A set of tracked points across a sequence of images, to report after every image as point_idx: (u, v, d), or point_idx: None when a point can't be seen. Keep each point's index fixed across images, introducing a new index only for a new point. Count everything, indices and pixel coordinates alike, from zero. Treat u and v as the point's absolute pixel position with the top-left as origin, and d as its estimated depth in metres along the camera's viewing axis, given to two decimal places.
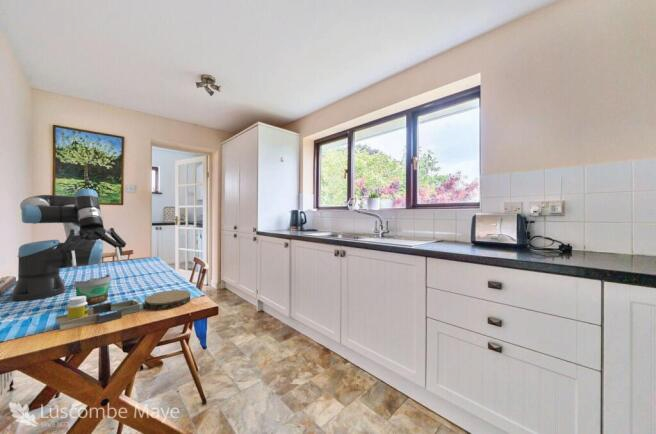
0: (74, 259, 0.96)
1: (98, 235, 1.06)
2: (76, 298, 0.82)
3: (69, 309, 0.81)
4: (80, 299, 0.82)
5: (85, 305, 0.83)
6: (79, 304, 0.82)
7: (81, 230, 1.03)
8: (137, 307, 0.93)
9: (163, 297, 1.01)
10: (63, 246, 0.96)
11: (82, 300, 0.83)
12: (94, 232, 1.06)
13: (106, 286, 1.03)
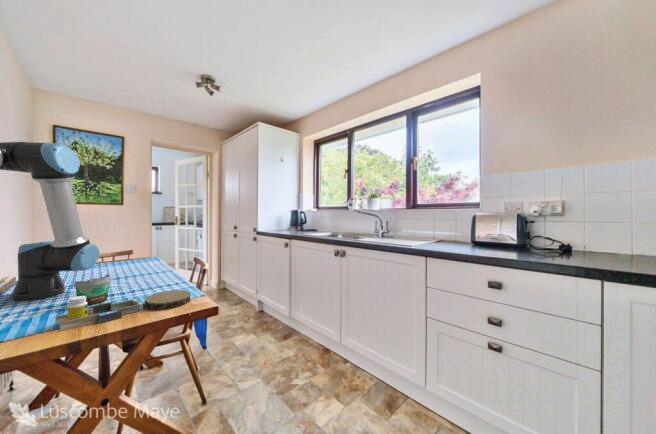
0: None
1: None
2: (76, 298, 0.82)
3: (69, 309, 0.81)
4: (80, 299, 0.82)
5: (85, 305, 0.83)
6: (79, 304, 0.82)
7: None
8: (137, 307, 0.93)
9: (163, 297, 1.01)
10: None
11: (82, 300, 0.83)
12: None
13: (106, 286, 1.03)
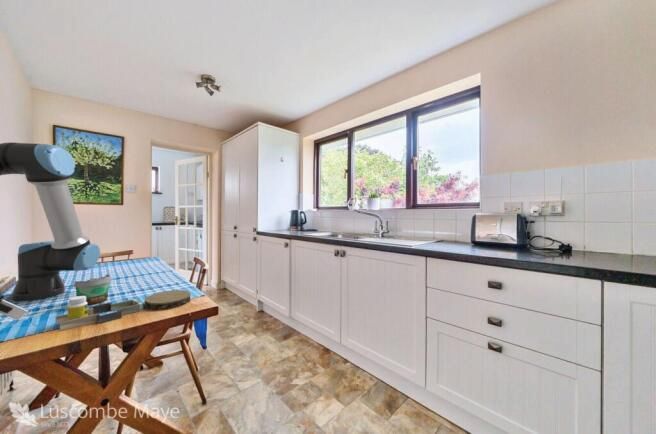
0: None
1: None
2: (76, 298, 0.82)
3: (69, 309, 0.81)
4: (80, 299, 0.82)
5: (85, 305, 0.83)
6: (79, 304, 0.82)
7: None
8: (137, 307, 0.93)
9: (163, 297, 1.01)
10: None
11: (82, 300, 0.83)
12: None
13: (106, 286, 1.03)
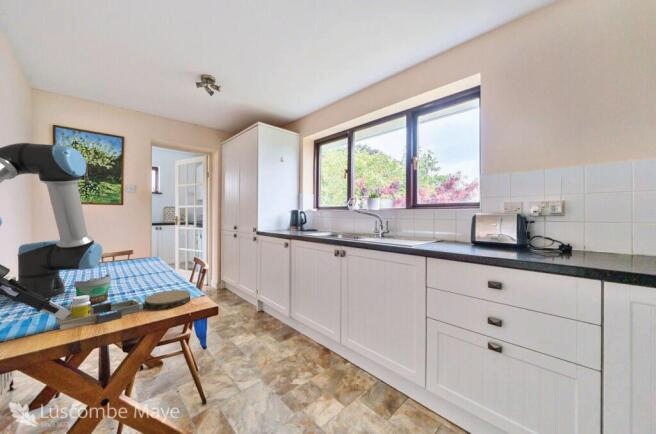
0: None
1: None
2: (80, 297, 0.83)
3: (73, 308, 0.81)
4: (84, 298, 0.83)
5: (89, 304, 0.84)
6: (83, 303, 0.83)
7: None
8: (137, 307, 0.93)
9: (163, 297, 1.01)
10: None
11: (86, 299, 0.83)
12: None
13: (106, 286, 1.03)
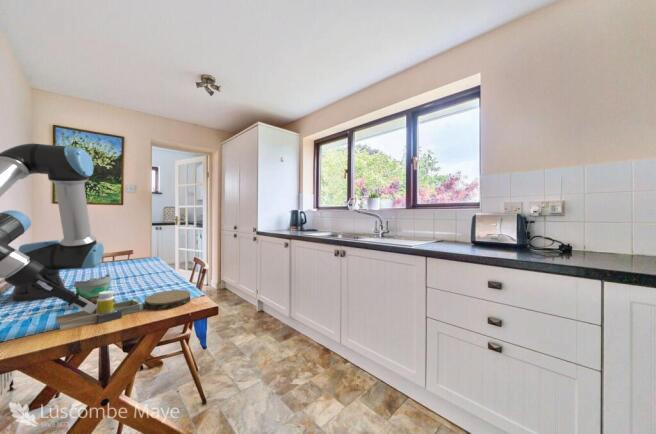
0: (82, 309, 0.84)
1: None
2: (105, 292, 0.88)
3: (100, 302, 0.86)
4: (109, 293, 0.88)
5: (113, 299, 0.89)
6: (109, 298, 0.88)
7: None
8: (137, 307, 0.93)
9: (163, 297, 1.01)
10: None
11: (111, 294, 0.89)
12: None
13: (106, 286, 1.03)
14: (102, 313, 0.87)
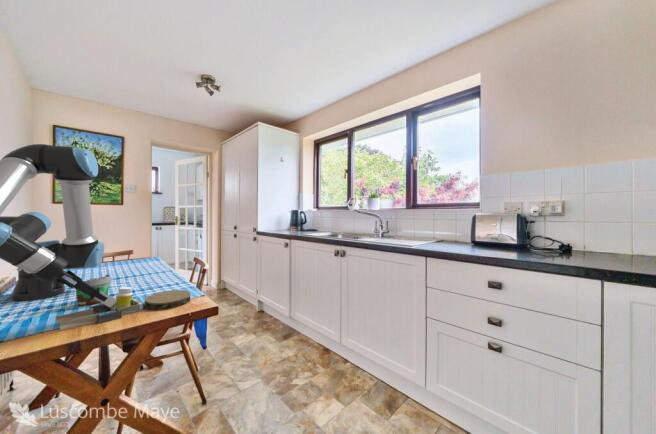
0: None
1: None
2: (125, 288, 0.93)
3: (119, 297, 0.91)
4: (129, 289, 0.93)
5: (131, 295, 0.94)
6: (128, 293, 0.93)
7: None
8: (137, 307, 0.93)
9: (163, 297, 1.01)
10: None
11: (130, 290, 0.94)
12: None
13: (106, 286, 1.03)
14: (120, 307, 0.91)
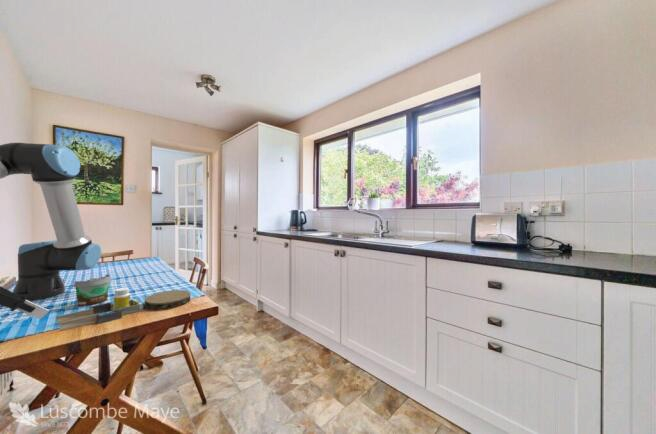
0: None
1: None
2: (121, 289, 0.92)
3: (116, 299, 0.91)
4: (125, 290, 0.92)
5: (129, 295, 0.94)
6: (124, 294, 0.92)
7: None
8: (137, 307, 0.93)
9: (163, 297, 1.01)
10: None
11: (126, 291, 0.93)
12: None
13: (106, 286, 1.03)
14: None
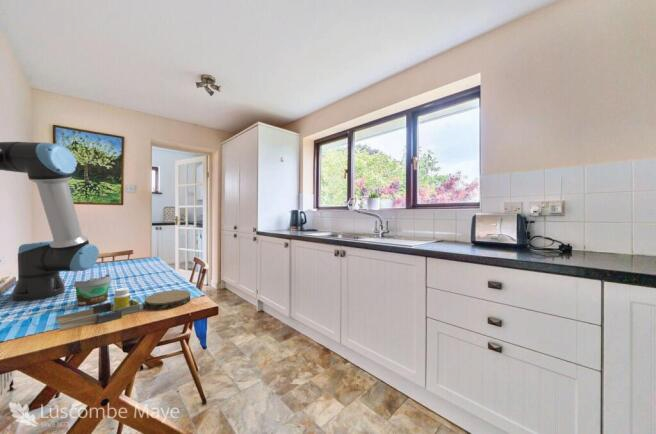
0: None
1: None
2: (121, 289, 0.92)
3: (116, 299, 0.91)
4: (125, 290, 0.92)
5: (129, 295, 0.94)
6: (124, 294, 0.92)
7: None
8: (137, 307, 0.93)
9: (163, 297, 1.01)
10: None
11: (127, 291, 0.93)
12: None
13: (106, 286, 1.03)
14: None
